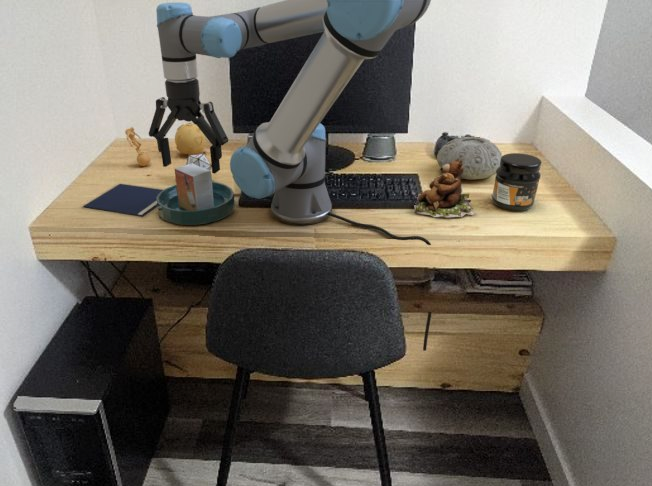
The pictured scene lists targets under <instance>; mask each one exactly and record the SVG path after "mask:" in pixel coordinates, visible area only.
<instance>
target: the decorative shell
mask: <svg viewBox="0 0 652 486" xmlns="http://www.w3.org/2000/svg"><path fill="white" fill-rule="evenodd" d="M437 152H438V153H437V155H436V162H437V164H438V166H439V167H440V168H441V167H442V166H443V165H445V164H449V163H451V162H453V161H456V160H457V159H459V160H460V161H462V162H463V165H462V166H463V168H464V170H463V173H462V174H461V175H460V176H461V177H460V178H461V180H464V179H465V180H482V179H487V178H491V176H493V175H496V170H497V169H498V167H500V160H501V157H502V156H503V153H502V151H500V148H499V147H498V146H497V145H496V143H494V142H492V141H491V140H489V139H486V138H484V137H481V136H479V137H478V136H477V137H475V136H473V137H472V136H468V135H467V136H461V137H458V138H457V137H455V138H454V139H452V140H449V141H448V142H446V143H445V144H443V145H442V146H441V147H440V150H438V151H437Z"/></svg>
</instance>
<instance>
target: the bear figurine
mask: <svg viewBox="0 0 652 486" xmlns="http://www.w3.org/2000/svg"><path fill="white" fill-rule="evenodd" d="M462 165H463V162H462V161H460V160H459V159H457V160H456V161H453V162H451V163H449V164H445V165H443V166H442V167H440V168H439V170H440V172H441V174H440V175H438V176H436V177H435V178H434V180H433V181H431V182H430V184H429V185H428V187H429V189H426V190H424V191H423V192H421V193H422V194H421V193H418V194H417V195H418V197H417V200H418V201H419V202H420V203H419V204H418V203H415V202H414V203H415V204H416V205H414V204H413V207H414V213H415V214H418V215H426V216H431V217H432V218H436V219H440V217H442V218H448V219H449V218H463V217H464V216H465V215H469V216H470V215H471V216H472V215H474V214H475V213H474V212H473V209H474V207H471V205H470V203H471V202H472V199H471V198H470V193H461V191H462V183H461V180H462V178H460V177H461V176H460V175H461V174H462V173H463V170H464V168H463V166H462Z"/></svg>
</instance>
